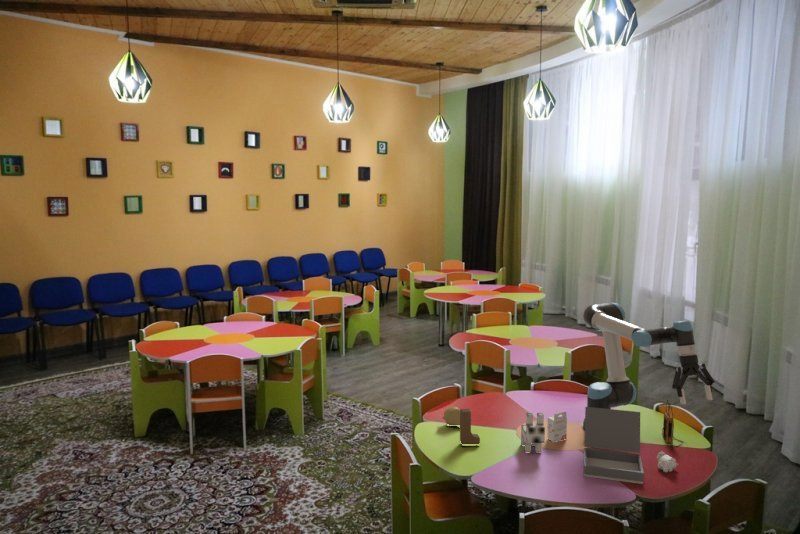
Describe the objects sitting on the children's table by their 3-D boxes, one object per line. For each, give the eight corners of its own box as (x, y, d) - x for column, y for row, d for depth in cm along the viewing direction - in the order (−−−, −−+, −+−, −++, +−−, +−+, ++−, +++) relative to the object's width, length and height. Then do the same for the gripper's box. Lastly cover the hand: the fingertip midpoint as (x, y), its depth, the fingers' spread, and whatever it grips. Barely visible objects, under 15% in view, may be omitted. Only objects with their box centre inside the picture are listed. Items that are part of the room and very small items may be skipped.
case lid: (585, 406, 275) (585, 406, 277) (584, 446, 272) (584, 446, 274) (640, 412, 268) (639, 412, 270) (639, 452, 264) (639, 452, 266)
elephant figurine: (682, 471, 258) (683, 456, 257) (664, 475, 255) (665, 459, 254) (669, 464, 265) (670, 449, 264) (652, 467, 263) (652, 452, 262)
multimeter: (690, 447, 281) (692, 408, 278) (667, 446, 283) (670, 406, 280) (681, 435, 295) (684, 397, 293) (660, 433, 297) (662, 396, 295)
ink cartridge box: (559, 436, 296) (560, 408, 294) (566, 439, 292) (567, 411, 290) (546, 439, 292) (547, 411, 290) (553, 443, 288) (554, 414, 286)
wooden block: (477, 442, 289) (478, 407, 287) (479, 446, 285) (480, 411, 283) (459, 443, 288) (460, 408, 286) (461, 447, 284) (462, 412, 282)
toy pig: (453, 436, 306) (468, 424, 303) (438, 419, 306) (453, 407, 303) (455, 428, 315) (470, 416, 312) (440, 411, 315) (455, 399, 312)
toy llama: (535, 441, 290) (535, 403, 287) (544, 458, 272) (545, 417, 270) (519, 442, 290) (520, 403, 287) (528, 458, 272) (528, 417, 270)
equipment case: (583, 476, 255) (584, 465, 254) (583, 458, 272) (584, 447, 271) (643, 484, 248) (643, 472, 247) (639, 464, 265) (639, 454, 264)
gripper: (668, 358, 260) (677, 406, 257) (717, 351, 265) (726, 398, 262) (658, 358, 267) (667, 405, 264) (705, 351, 272) (714, 397, 269)
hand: (696, 402), depth 263 cm, fingers open, 13 cm apart
